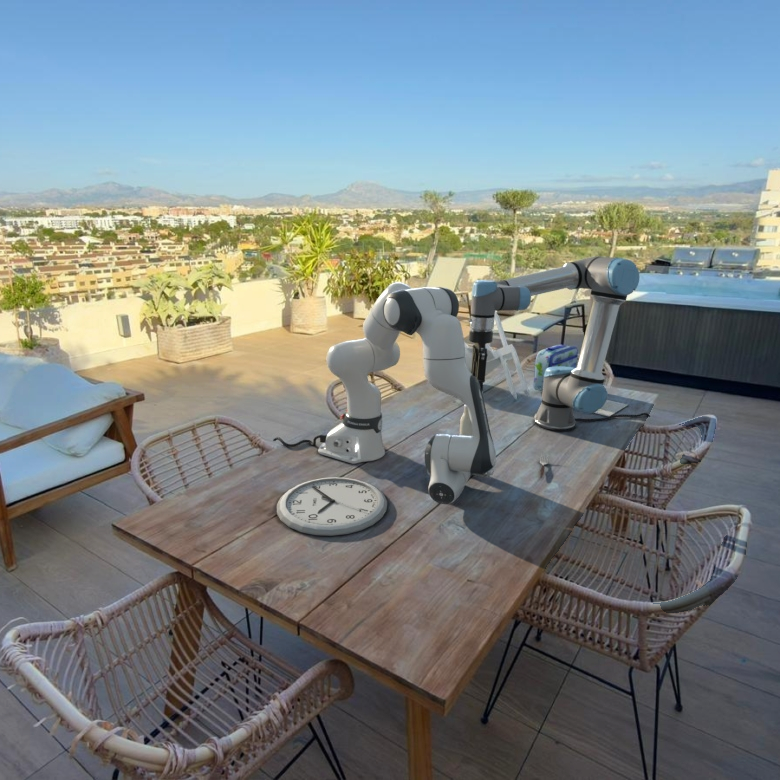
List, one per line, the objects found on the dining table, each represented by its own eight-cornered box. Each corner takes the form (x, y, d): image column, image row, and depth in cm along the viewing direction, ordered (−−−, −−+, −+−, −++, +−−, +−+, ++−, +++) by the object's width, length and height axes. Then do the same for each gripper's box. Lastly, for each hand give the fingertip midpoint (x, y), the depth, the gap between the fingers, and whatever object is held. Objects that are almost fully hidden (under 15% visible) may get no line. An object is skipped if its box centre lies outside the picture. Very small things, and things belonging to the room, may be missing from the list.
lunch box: (550, 397, 237) (555, 352, 231) (529, 391, 245) (533, 348, 238) (577, 386, 255) (582, 344, 249) (556, 381, 262) (561, 340, 256)
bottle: (465, 476, 161) (469, 409, 154) (453, 470, 165) (457, 404, 158) (476, 471, 164) (481, 405, 157) (464, 466, 168) (469, 401, 161)
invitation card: (608, 416, 214) (573, 407, 224) (608, 416, 214) (573, 408, 224) (628, 404, 229) (594, 396, 238) (628, 405, 229) (594, 397, 238)
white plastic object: (461, 429, 252) (437, 405, 227) (444, 352, 274) (420, 323, 250) (535, 404, 240) (518, 377, 215) (510, 326, 262) (492, 293, 237)
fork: (536, 478, 160) (536, 472, 159) (540, 458, 174) (541, 452, 173) (545, 480, 159) (545, 474, 158) (548, 459, 173) (549, 453, 173)
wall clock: (392, 527, 129) (268, 531, 127) (391, 533, 130) (269, 537, 127) (383, 473, 158) (282, 475, 155) (383, 478, 158) (282, 480, 156)
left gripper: (492, 465, 146) (501, 447, 159) (423, 453, 153) (436, 437, 166) (491, 486, 148) (499, 466, 161) (422, 473, 155) (435, 455, 168)
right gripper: (465, 324, 176) (461, 390, 183) (474, 334, 159) (468, 406, 166) (488, 325, 176) (482, 391, 183) (498, 335, 159) (492, 407, 166)
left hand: (466, 451), depth 163 cm, fingers closed on bottle, 5 cm apart
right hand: (476, 398), depth 175 cm, fingers closed on cap, 4 cm apart
